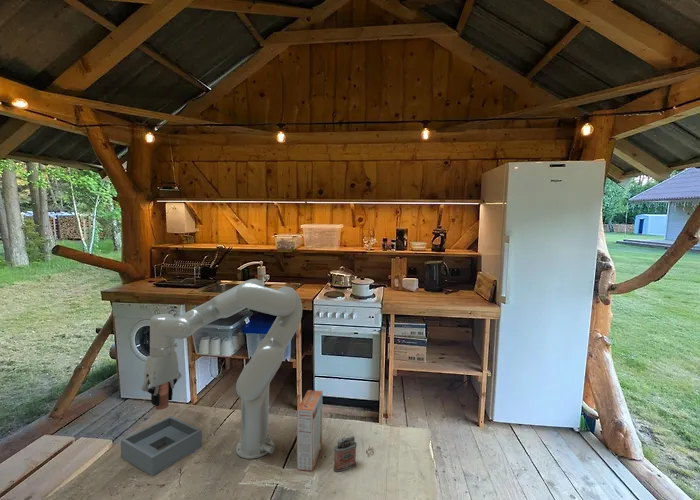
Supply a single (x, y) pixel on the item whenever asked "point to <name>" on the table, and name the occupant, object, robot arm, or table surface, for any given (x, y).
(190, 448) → the tray
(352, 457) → the lighter
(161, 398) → the peg
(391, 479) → the table surface
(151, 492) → the table surface
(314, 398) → the cracker box
